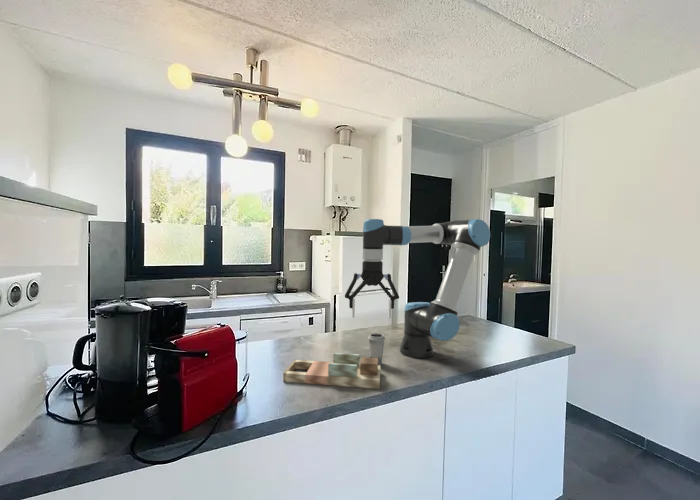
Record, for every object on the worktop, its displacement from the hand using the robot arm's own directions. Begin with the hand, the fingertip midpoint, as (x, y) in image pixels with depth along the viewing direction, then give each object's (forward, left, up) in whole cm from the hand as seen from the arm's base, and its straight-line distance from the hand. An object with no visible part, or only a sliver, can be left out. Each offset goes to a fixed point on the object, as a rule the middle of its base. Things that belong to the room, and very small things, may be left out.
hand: (371, 317), depth 116 cm
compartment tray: (+13, +4, -22) cm, 26 cm away
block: (0, +4, -19) cm, 19 cm away
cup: (-2, -11, -22) cm, 25 cm away
